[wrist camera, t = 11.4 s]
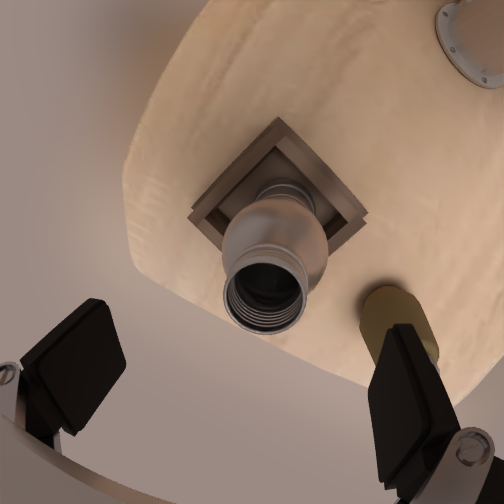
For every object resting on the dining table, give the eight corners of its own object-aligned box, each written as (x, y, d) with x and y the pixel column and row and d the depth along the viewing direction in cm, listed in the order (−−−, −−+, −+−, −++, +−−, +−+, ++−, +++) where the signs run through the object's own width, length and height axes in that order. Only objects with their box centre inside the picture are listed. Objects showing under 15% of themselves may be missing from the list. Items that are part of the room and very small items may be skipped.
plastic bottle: (250, 230, 32) (187, 342, 13) (260, 170, 30) (198, 207, 11) (307, 243, 31) (315, 371, 13) (320, 183, 29) (361, 241, 10)
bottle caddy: (194, 205, 33) (173, 217, 27) (279, 117, 28) (275, 110, 23) (277, 287, 35) (273, 313, 29) (366, 210, 30) (380, 224, 25)
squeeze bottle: (342, 313, 35) (362, 428, 18) (381, 265, 32) (439, 364, 15) (384, 339, 35) (417, 444, 19) (423, 295, 32) (483, 391, 16)
